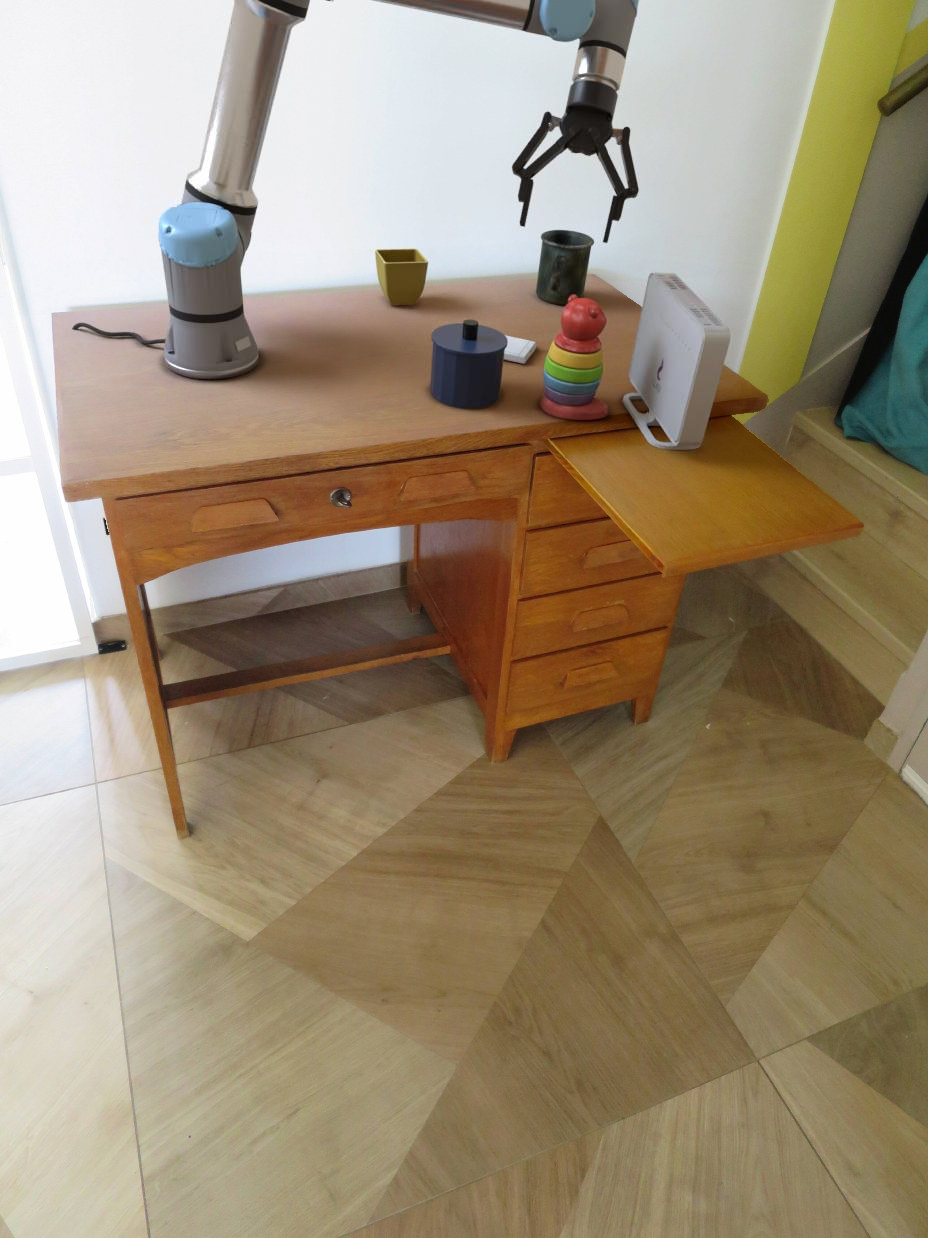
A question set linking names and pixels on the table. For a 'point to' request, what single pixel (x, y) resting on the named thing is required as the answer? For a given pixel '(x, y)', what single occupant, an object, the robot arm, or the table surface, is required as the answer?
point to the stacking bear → (575, 363)
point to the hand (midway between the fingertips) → (563, 232)
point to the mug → (563, 265)
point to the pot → (466, 378)
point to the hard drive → (518, 349)
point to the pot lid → (469, 339)
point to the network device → (676, 362)
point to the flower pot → (401, 274)
